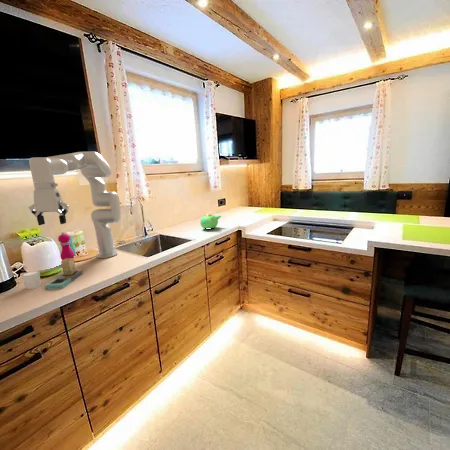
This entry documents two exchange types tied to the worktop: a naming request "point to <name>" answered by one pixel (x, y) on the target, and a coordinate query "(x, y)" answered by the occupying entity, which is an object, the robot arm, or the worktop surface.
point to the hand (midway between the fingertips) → (52, 224)
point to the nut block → (68, 266)
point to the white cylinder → (31, 279)
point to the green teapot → (209, 221)
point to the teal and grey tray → (62, 281)
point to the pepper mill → (65, 246)
